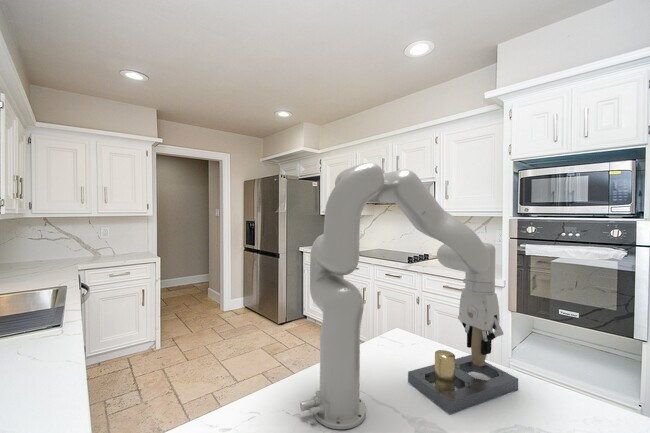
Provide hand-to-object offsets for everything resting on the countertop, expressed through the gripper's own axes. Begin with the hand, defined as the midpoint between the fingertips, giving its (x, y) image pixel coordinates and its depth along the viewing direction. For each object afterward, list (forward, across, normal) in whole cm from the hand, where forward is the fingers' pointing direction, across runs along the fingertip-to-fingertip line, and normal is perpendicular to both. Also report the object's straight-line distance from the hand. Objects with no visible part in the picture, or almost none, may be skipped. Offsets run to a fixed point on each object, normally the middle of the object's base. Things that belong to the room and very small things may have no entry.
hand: (478, 349), depth 86 cm
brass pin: (+9, 0, -13) cm, 16 cm away
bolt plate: (+9, 0, -6) cm, 11 cm away
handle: (+4, 0, 0) cm, 4 cm away
